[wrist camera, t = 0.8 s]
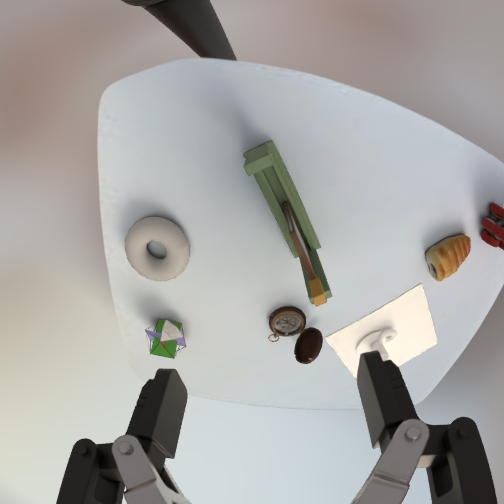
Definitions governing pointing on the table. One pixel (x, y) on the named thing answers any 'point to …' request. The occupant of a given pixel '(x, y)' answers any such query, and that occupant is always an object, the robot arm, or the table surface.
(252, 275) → the table surface
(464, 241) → the pastry
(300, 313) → the compass
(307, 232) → the window frame
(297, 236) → the sash
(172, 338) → the geometric puzzle
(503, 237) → the toy fire truck
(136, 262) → the donut
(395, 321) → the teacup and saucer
